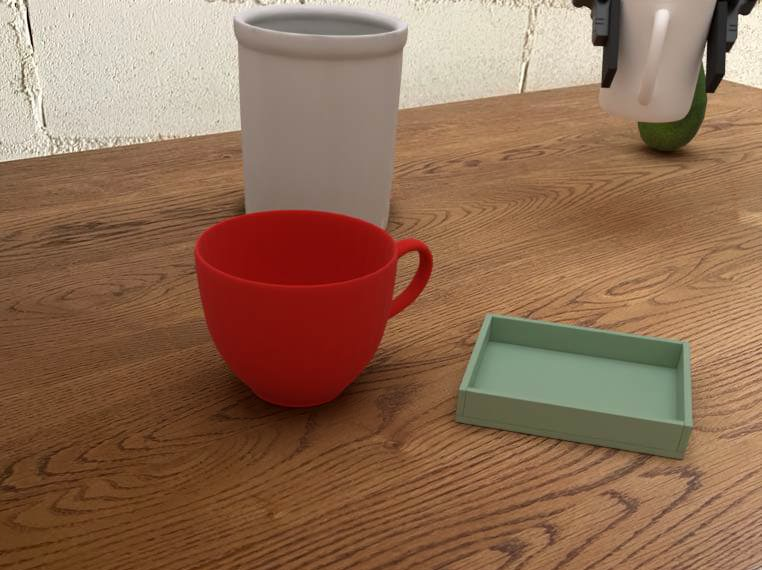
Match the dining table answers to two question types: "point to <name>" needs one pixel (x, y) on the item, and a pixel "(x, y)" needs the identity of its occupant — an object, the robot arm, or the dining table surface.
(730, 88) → the dining table surface
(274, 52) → the utensil holder
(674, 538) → the dining table surface
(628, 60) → the cup
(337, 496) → the dining table surface
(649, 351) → the sage green tray
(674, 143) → the avocado
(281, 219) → the ceramic cup
